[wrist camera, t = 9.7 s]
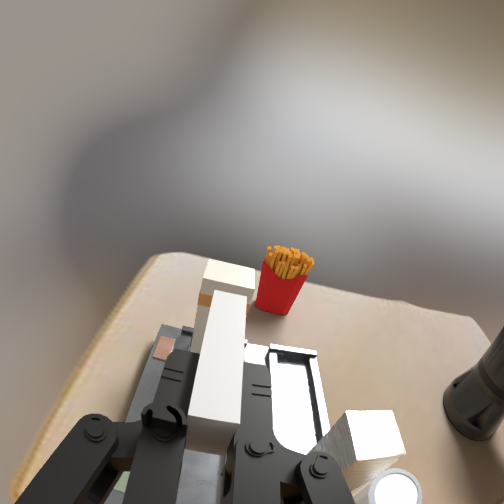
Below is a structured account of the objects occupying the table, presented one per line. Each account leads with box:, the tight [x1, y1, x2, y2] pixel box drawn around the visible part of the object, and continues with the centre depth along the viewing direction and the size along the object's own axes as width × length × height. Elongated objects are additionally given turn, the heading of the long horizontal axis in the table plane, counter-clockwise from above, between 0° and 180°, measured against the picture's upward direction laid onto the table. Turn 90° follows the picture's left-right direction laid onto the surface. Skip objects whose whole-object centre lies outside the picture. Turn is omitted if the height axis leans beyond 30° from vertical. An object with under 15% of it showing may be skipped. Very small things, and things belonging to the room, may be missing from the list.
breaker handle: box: [190, 259, 255, 354], centre depth 32 cm, size 5×4×13 cm
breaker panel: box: [104, 324, 406, 504], centre depth 25 cm, size 22×27×16 cm
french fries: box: [255, 245, 314, 315], centre depth 51 cm, size 8×4×12 cm, turn 82°
